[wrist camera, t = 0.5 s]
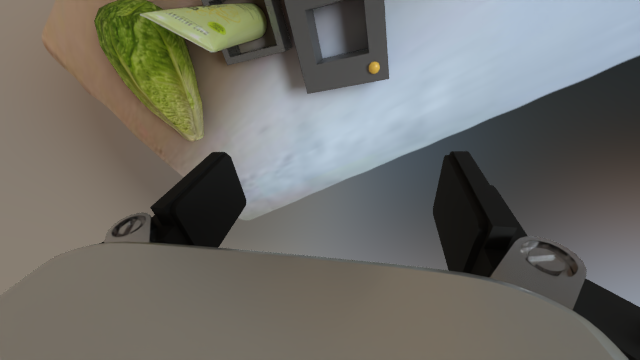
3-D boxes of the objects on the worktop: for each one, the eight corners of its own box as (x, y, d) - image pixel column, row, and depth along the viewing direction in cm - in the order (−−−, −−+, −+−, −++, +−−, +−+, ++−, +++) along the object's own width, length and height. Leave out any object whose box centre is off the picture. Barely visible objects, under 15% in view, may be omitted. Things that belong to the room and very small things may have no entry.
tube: (263, -4, 37) (182, -8, 22) (275, 33, 40) (211, 53, 25) (233, 8, 39) (138, 13, 24) (246, 43, 42) (169, 67, 26)
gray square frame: (214, -4, 38) (199, -5, 35) (273, -25, 35) (263, -28, 32) (238, 60, 44) (227, 65, 41) (292, 47, 41) (285, 51, 38)
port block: (290, -19, 36) (278, -21, 31) (380, -49, 32) (380, -56, 28) (314, 85, 44) (307, 94, 39) (388, 71, 40) (389, 79, 36)
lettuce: (158, 144, 53) (176, 164, 45) (74, 8, 37) (78, 2, 30) (210, 122, 58) (234, 137, 50) (155, -3, 43) (177, -10, 35)
